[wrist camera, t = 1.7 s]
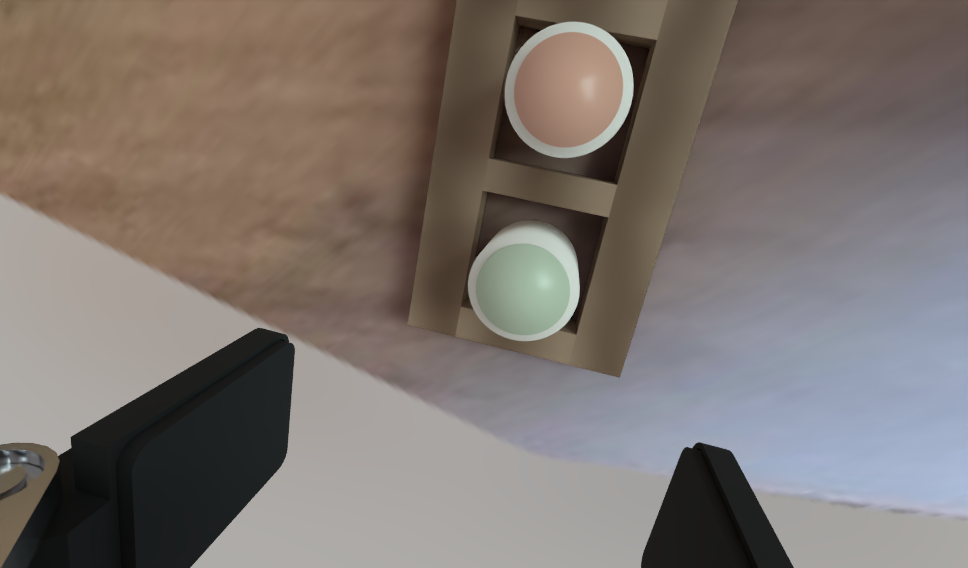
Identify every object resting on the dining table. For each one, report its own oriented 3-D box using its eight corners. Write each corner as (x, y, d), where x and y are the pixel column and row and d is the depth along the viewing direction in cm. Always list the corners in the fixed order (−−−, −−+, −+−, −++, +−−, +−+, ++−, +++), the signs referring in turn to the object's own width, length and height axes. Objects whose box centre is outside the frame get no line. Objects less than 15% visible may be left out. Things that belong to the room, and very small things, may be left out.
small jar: (635, 54, 21) (651, 32, 17) (606, 165, 22) (614, 169, 18) (527, 35, 21) (517, 9, 17) (506, 145, 23) (492, 144, 19)
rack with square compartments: (788, -199, 20) (812, -236, 18) (616, 361, 27) (619, 377, 26) (504, -232, 21) (497, -270, 19) (418, 312, 29) (407, 324, 27)
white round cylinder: (588, 231, 23) (593, 249, 19) (565, 320, 25) (564, 355, 21) (493, 210, 24) (477, 224, 20) (475, 299, 25) (457, 329, 21)
